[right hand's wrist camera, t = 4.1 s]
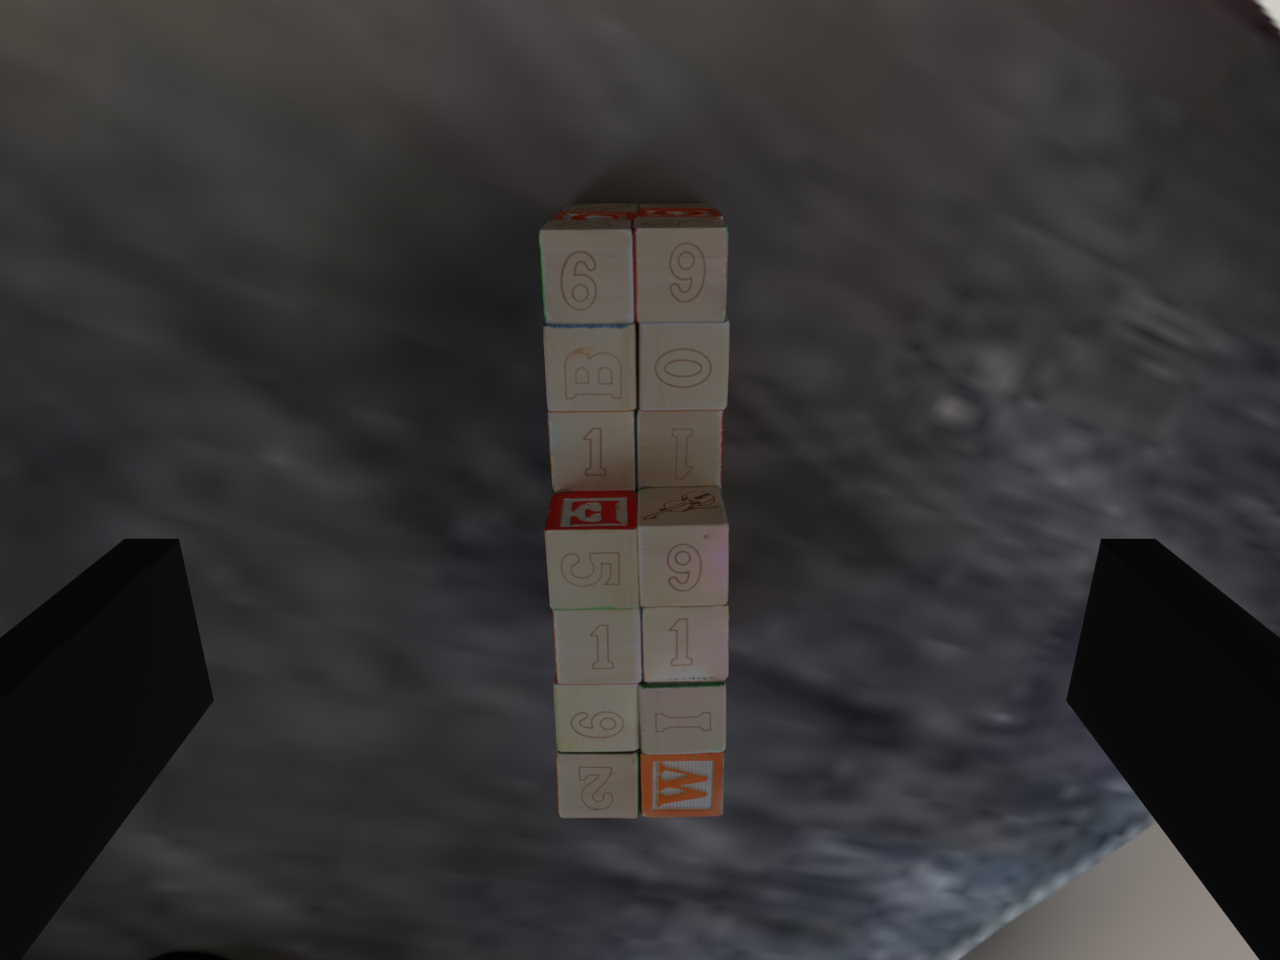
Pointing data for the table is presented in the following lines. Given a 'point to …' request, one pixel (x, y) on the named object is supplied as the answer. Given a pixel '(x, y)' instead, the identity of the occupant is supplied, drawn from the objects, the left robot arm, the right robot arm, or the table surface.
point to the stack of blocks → (637, 505)
